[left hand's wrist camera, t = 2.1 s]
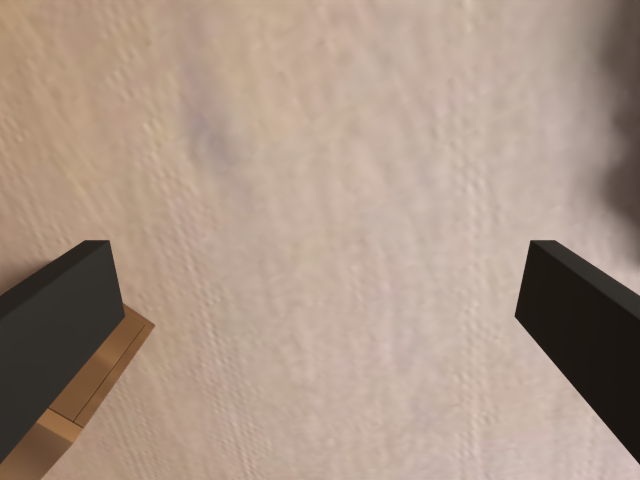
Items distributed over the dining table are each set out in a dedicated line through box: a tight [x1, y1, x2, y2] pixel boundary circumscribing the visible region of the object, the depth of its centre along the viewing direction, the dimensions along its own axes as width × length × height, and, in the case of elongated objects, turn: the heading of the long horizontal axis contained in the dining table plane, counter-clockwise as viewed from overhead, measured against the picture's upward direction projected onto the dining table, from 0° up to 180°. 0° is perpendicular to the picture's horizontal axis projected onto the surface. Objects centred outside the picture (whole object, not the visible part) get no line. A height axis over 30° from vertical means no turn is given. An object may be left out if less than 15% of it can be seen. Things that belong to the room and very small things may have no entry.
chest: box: [48, 304, 155, 429], centre depth 29 cm, size 17×9×10 cm, turn 138°
